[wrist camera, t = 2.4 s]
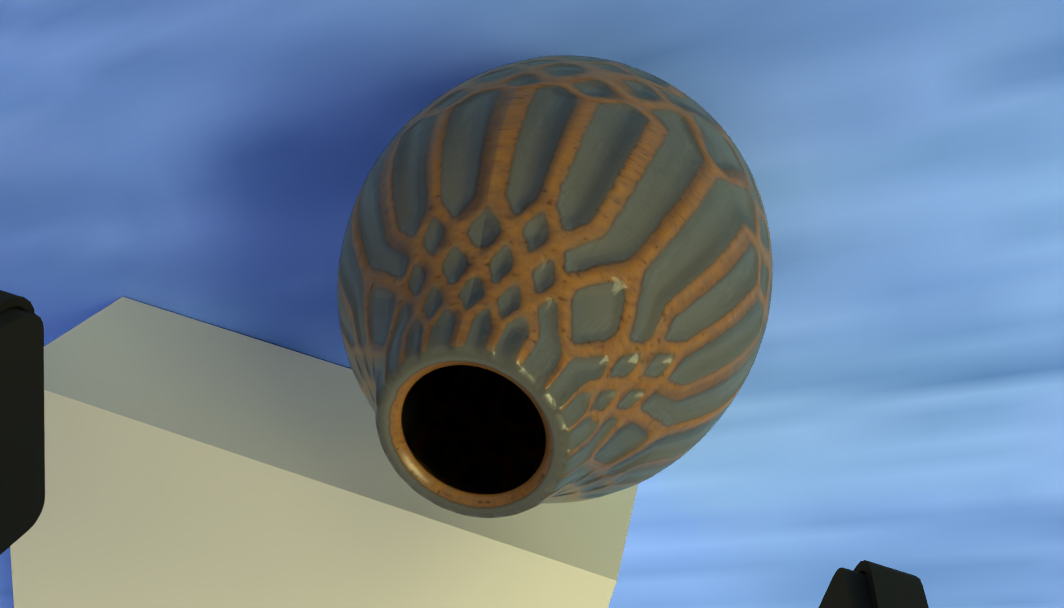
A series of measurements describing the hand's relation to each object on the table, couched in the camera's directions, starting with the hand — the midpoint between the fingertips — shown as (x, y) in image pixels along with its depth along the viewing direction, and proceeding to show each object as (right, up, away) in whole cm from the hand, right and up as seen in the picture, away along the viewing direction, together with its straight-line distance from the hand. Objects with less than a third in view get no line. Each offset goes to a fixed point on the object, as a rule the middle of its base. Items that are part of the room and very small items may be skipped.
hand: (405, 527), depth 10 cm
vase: (+3, +5, +8) cm, 10 cm away
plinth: (-4, -5, +14) cm, 15 cm away
